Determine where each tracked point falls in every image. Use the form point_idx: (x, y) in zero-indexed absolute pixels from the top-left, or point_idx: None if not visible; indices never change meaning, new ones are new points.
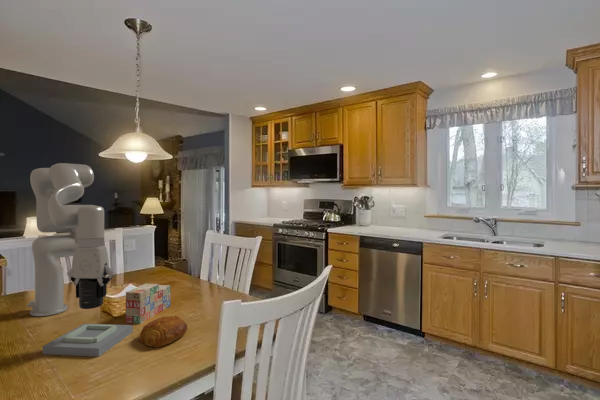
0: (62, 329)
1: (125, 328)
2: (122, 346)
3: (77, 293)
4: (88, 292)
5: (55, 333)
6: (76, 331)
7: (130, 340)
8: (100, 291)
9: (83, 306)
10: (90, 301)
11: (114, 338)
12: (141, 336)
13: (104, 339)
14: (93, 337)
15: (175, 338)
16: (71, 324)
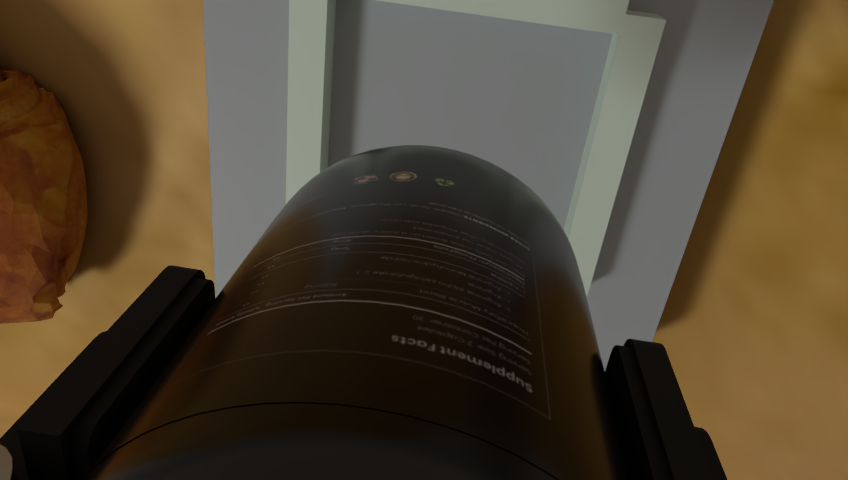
0: (817, 376)
1: (232, 251)
2: (155, 25)
3: (647, 391)
4: (294, 277)
5: (845, 311)
6: (594, 158)
7: (163, 136)
8: (102, 354)
9: (449, 156)
10: (318, 195)
11: (208, 63)
12: (16, 101)
13: (271, 28)
14: (400, 81)
15: None
16: (783, 452)
